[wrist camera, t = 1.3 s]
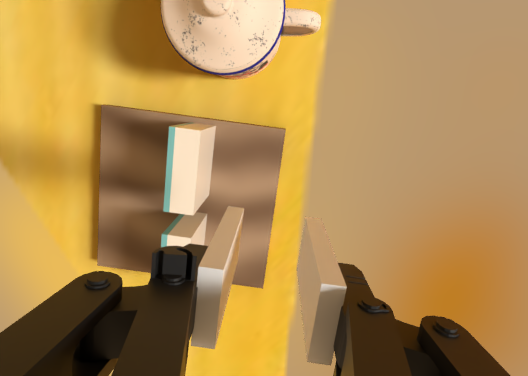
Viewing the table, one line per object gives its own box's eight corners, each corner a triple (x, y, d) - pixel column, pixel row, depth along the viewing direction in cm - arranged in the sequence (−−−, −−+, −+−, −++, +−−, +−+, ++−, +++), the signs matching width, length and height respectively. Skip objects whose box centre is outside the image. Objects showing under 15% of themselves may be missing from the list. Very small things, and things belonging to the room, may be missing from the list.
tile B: (183, 210, 37) (161, 234, 30) (207, 213, 37) (191, 238, 30) (178, 272, 39) (156, 308, 32) (201, 275, 39) (184, 312, 32)
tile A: (190, 122, 35) (169, 126, 28) (215, 125, 35) (200, 130, 28) (184, 191, 37) (163, 211, 30) (209, 194, 37) (193, 215, 30)
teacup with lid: (188, 79, 36) (147, 68, 24) (188, -22, 34) (142, -87, 22) (310, 85, 35) (325, 76, 24) (317, -18, 33) (338, -81, 22)
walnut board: (108, 104, 36) (101, 104, 35) (285, 128, 36) (285, 129, 35) (103, 259, 40) (97, 265, 39) (263, 281, 40) (262, 288, 39)
